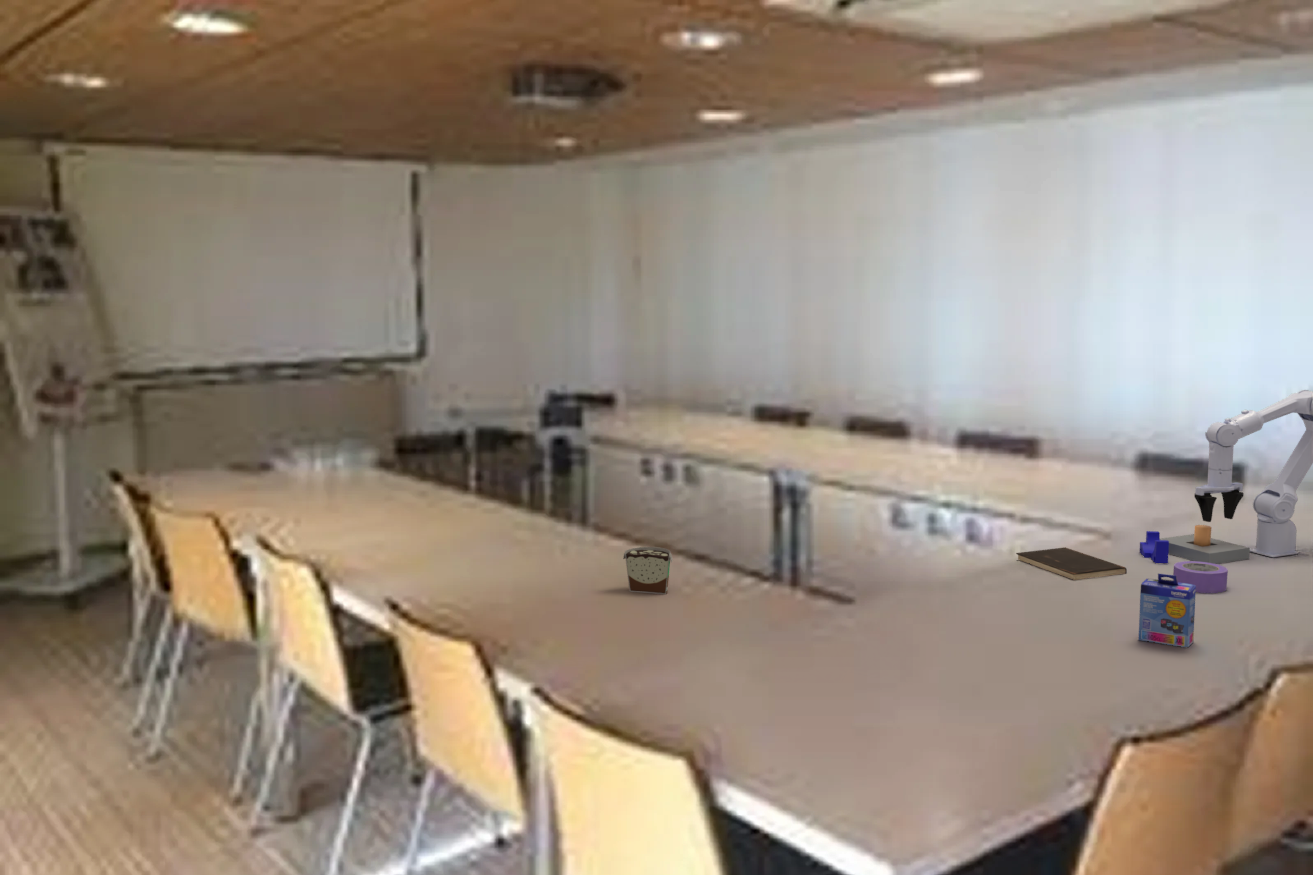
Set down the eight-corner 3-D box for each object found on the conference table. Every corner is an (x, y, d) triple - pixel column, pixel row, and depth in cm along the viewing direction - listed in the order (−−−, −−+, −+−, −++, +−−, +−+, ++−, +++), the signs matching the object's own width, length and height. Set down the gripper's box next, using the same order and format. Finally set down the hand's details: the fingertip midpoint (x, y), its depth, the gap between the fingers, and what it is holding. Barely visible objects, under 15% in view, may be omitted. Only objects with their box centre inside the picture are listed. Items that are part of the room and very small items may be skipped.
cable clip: (1139, 553, 326) (1140, 531, 325) (1157, 553, 325) (1158, 531, 324) (1149, 564, 314) (1150, 541, 313) (1167, 564, 313) (1168, 541, 312)
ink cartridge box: (1136, 641, 252) (1139, 572, 250) (1143, 634, 256) (1146, 566, 254) (1188, 649, 246) (1191, 579, 244) (1194, 641, 251) (1197, 572, 248)
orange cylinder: (1201, 550, 325) (1202, 524, 323) (1213, 553, 321) (1214, 527, 320) (1189, 551, 323) (1191, 525, 322) (1201, 555, 319) (1203, 529, 318)
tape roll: (1226, 583, 294) (1227, 563, 294) (1226, 596, 284) (1227, 575, 283) (1173, 579, 299) (1174, 559, 299) (1171, 590, 289) (1172, 570, 288)
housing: (1194, 544, 333) (1194, 533, 333) (1249, 559, 317) (1249, 547, 316) (1154, 550, 328) (1155, 539, 327) (1208, 565, 311) (1209, 553, 311)
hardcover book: (1073, 582, 299) (1073, 573, 299) (1016, 561, 321) (1016, 552, 320) (1126, 575, 304) (1127, 566, 304) (1066, 555, 326) (1067, 547, 325)
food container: (680, 588, 298) (679, 548, 296) (672, 594, 292) (671, 553, 291) (632, 584, 302) (631, 545, 300) (623, 591, 296) (622, 550, 295)
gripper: (1211, 473, 312) (1209, 525, 314) (1253, 468, 317) (1250, 520, 319) (1190, 469, 318) (1187, 520, 320) (1231, 464, 324) (1228, 515, 326)
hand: (1217, 519), depth 320 cm, fingers open, 7 cm apart
